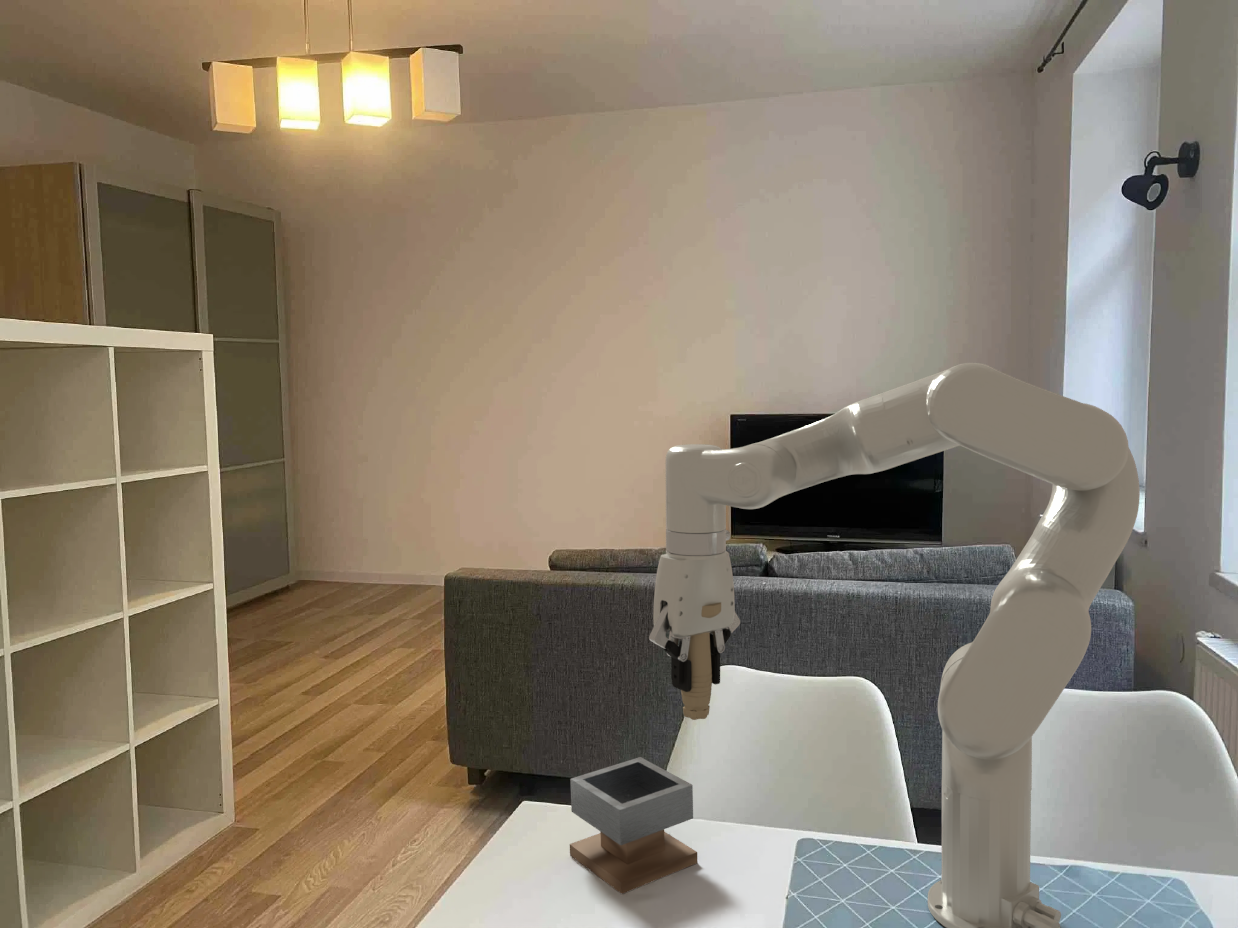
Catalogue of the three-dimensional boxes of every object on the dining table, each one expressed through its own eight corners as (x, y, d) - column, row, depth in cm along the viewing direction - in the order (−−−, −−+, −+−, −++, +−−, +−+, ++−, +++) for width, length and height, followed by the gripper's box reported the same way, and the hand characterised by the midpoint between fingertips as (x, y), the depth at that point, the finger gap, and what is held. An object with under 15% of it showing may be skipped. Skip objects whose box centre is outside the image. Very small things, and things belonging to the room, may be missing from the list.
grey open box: (693, 818, 121) (692, 784, 120) (620, 845, 114) (619, 809, 114) (641, 788, 130) (640, 756, 130) (571, 811, 123) (570, 778, 123)
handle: (717, 725, 116) (717, 607, 115) (667, 720, 118) (666, 604, 117) (724, 712, 121) (724, 598, 119) (676, 707, 123) (675, 595, 121)
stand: (697, 862, 121) (696, 818, 120) (621, 893, 114) (620, 846, 114) (642, 827, 131) (641, 786, 130) (569, 854, 124) (568, 811, 124)
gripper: (726, 532, 125) (726, 665, 127) (623, 546, 116) (625, 690, 117) (765, 540, 119) (765, 680, 121) (660, 555, 109) (661, 707, 111)
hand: (696, 683), depth 119 cm, fingers closed on handle, 4 cm apart
